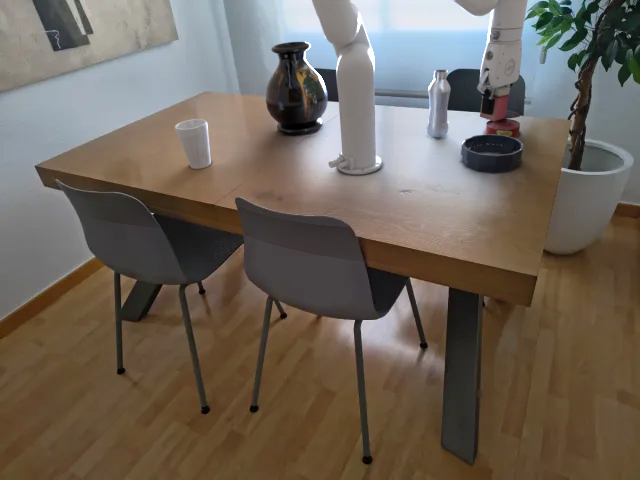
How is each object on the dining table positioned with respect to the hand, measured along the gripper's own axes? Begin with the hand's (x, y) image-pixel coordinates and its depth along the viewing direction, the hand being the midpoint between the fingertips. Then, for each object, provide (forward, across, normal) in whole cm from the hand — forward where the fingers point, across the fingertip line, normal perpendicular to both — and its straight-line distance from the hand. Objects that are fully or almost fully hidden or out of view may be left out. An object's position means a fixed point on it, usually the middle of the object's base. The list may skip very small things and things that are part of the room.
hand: (493, 110), depth 115 cm
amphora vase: (+16, -20, +64) cm, 69 cm away
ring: (+14, +1, -1) cm, 14 cm away
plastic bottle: (+15, +6, +23) cm, 28 cm away
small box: (+2, 0, 0) cm, 2 cm away
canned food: (+14, +21, +10) cm, 27 cm away
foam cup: (+16, -60, +60) cm, 87 cm away
